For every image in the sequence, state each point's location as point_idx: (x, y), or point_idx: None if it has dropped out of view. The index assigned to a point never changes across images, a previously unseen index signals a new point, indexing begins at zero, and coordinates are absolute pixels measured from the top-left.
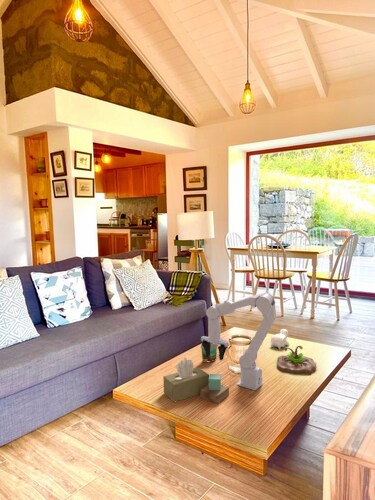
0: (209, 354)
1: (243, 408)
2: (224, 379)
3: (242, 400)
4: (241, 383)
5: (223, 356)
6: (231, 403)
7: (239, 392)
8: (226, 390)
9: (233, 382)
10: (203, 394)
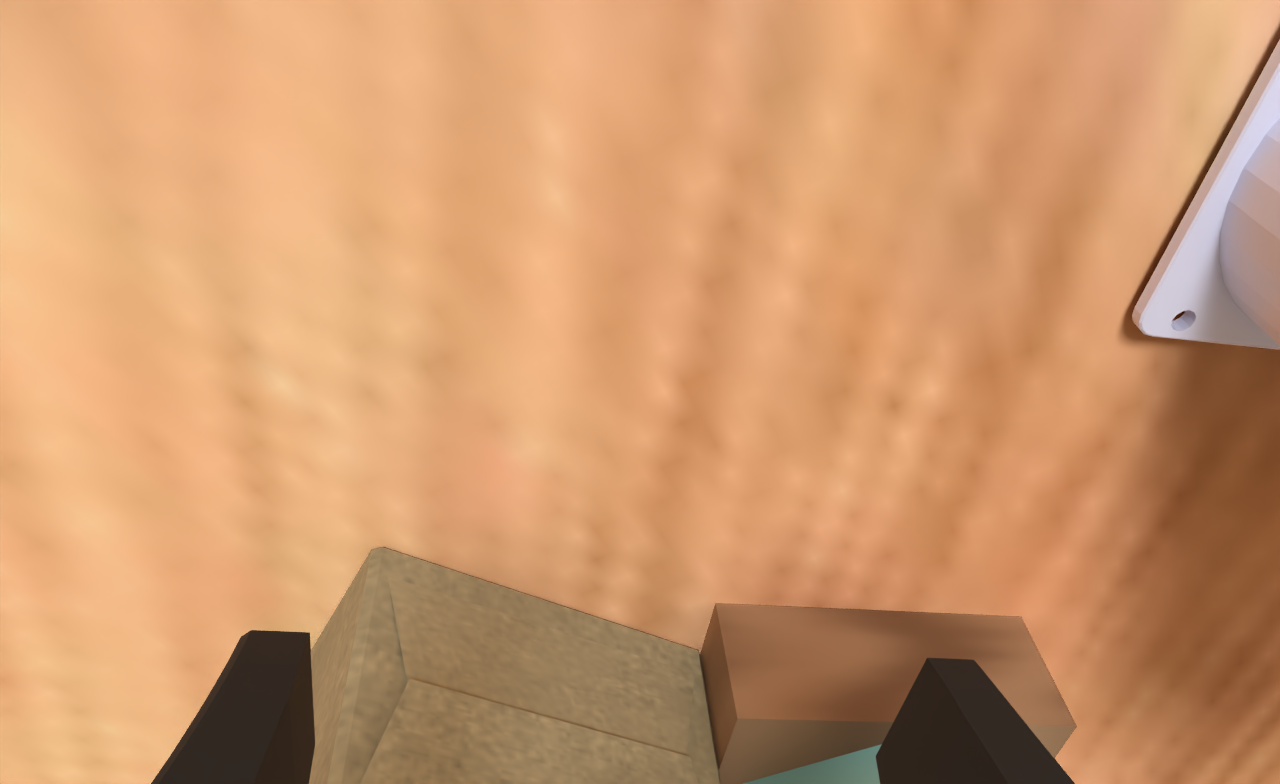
0: (299, 714)
1: (1238, 747)
2: (805, 203)
3: (1229, 640)
4: (1246, 313)
5: (1038, 759)
6: (1084, 733)
7: (1182, 501)
8: None
9: (1037, 240)
10: None
